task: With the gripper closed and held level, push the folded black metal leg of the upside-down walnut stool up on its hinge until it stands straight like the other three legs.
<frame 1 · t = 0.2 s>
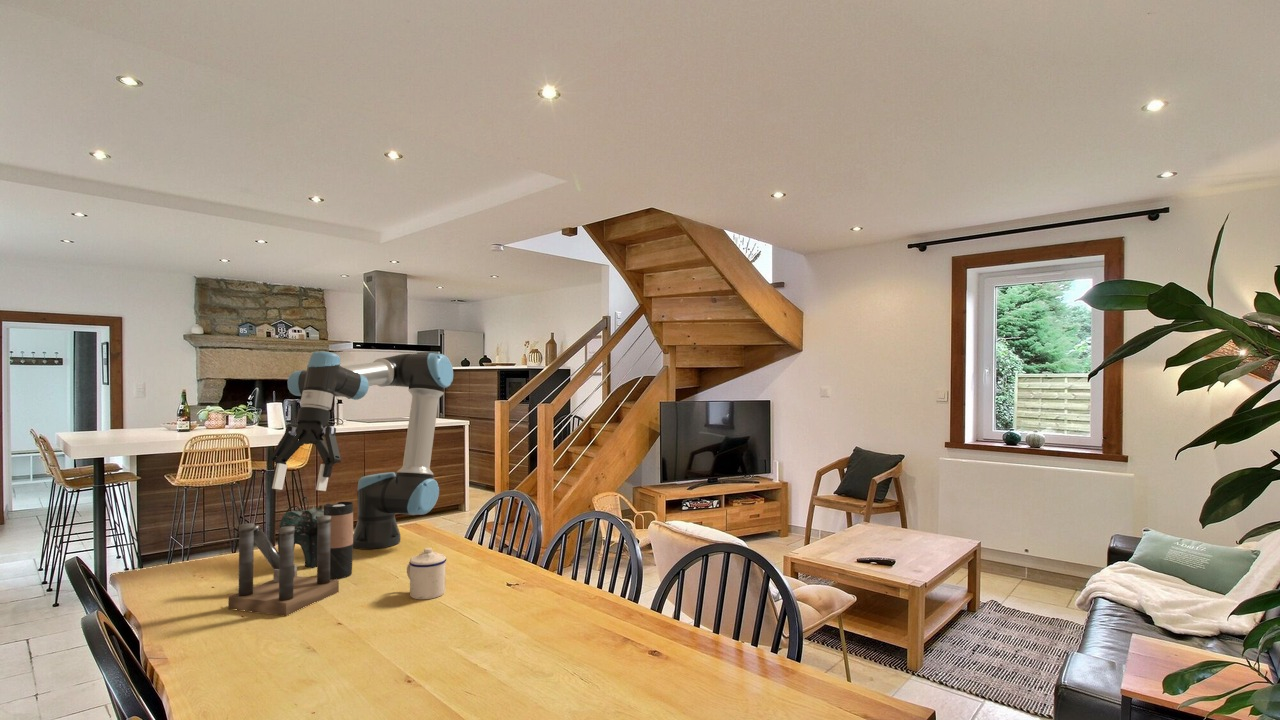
hand: (298, 490, 162), 27 cm above the table, tool tilted 15°, fingers open, 13 cm apart
teacup with lid: (423, 593, 163), on the table
travel mug: (337, 576, 178), on the table
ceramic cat: (299, 563, 190), on the table
stool: (285, 600, 158), on the table
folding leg: (268, 550, 167), point 10 cm above the table, hinge at 45.0°
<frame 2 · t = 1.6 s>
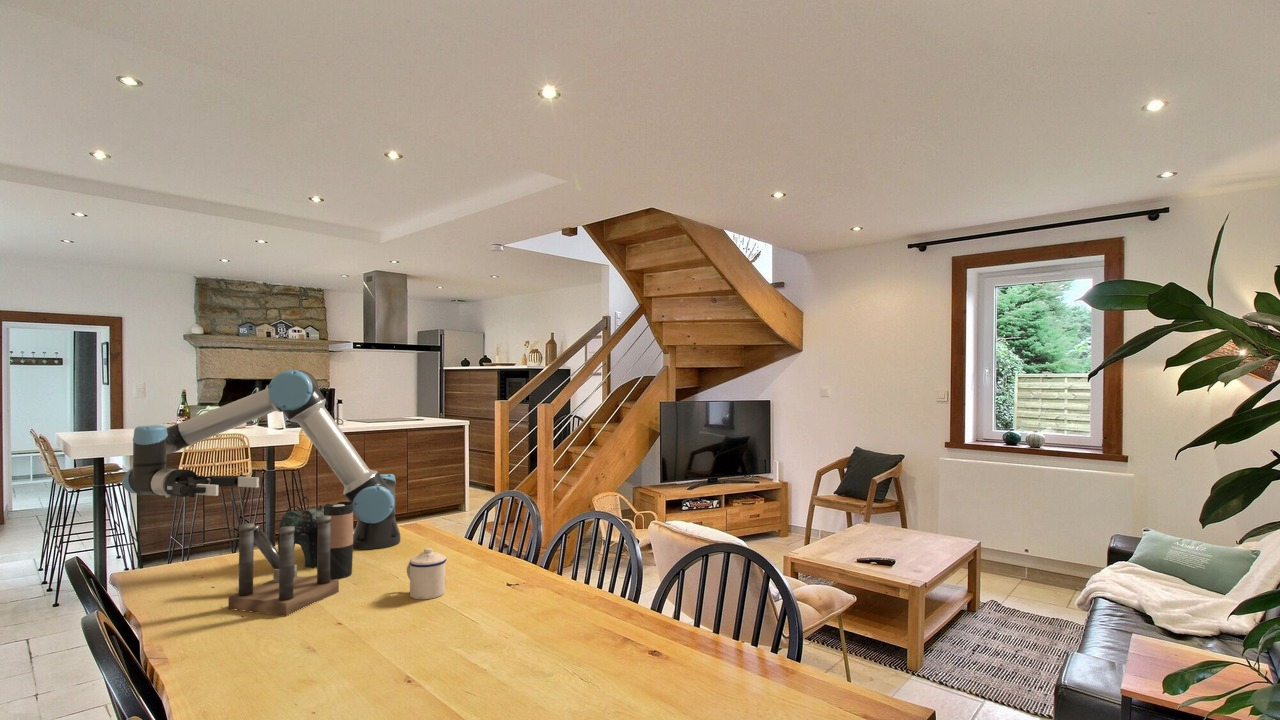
hand: (238, 486, 171), 26 cm above the table, tool horizontal, fingers open, 12 cm apart
nothing on the table moved.
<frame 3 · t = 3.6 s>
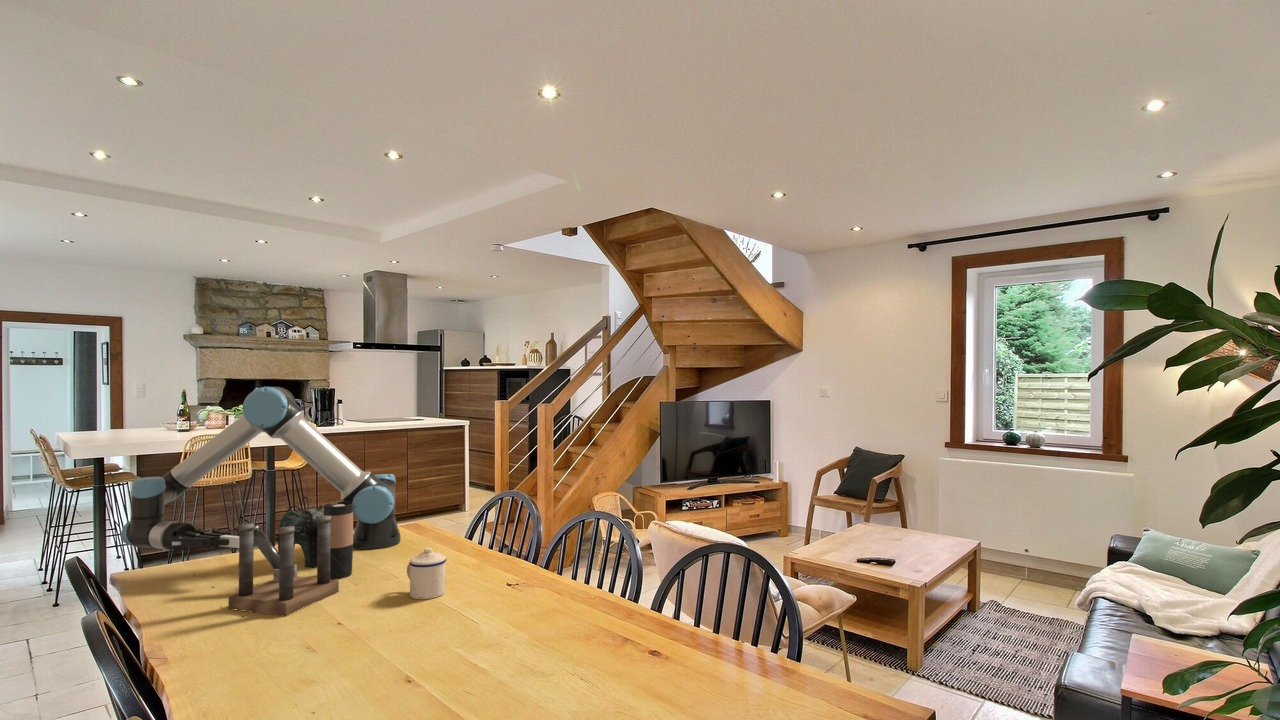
hand: (241, 542, 171), 11 cm above the table, tool horizontal, fingers closed
nothing on the table moved.
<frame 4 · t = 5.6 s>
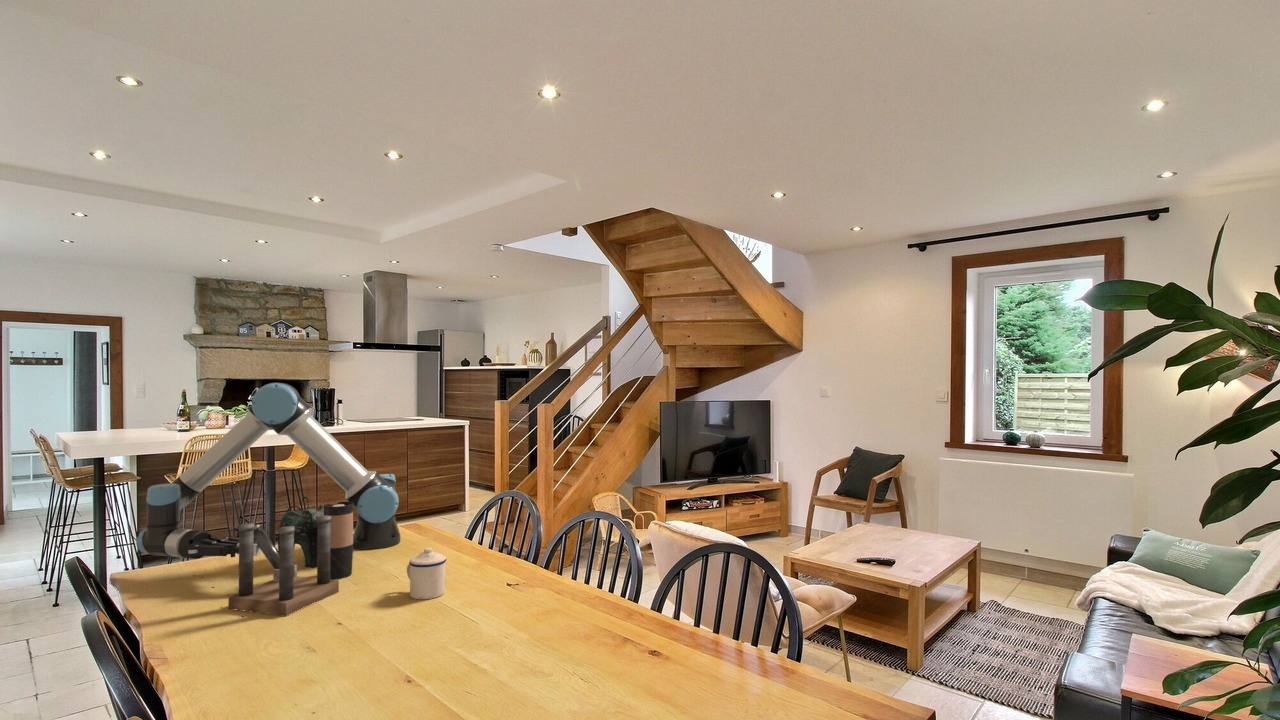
hand: (258, 550, 168), 10 cm above the table, tool horizontal, fingers closed
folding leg: (269, 549, 167), point 10 cm above the table, hinge at 43.2°
everything else where it was.
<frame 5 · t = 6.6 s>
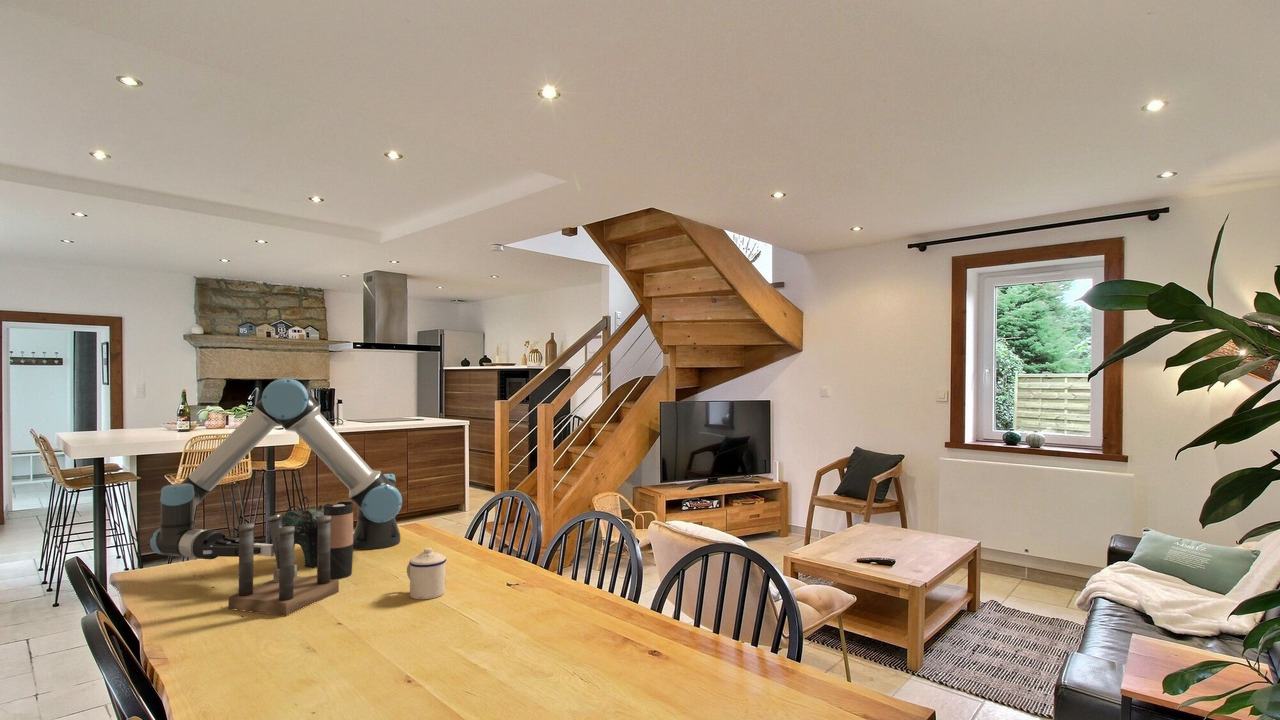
hand: (273, 550, 166), 10 cm above the table, tool horizontal, fingers closed
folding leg: (279, 543, 166), point 12 cm above the table, hinge at 14.8°, touching gripper
everything else where it was.
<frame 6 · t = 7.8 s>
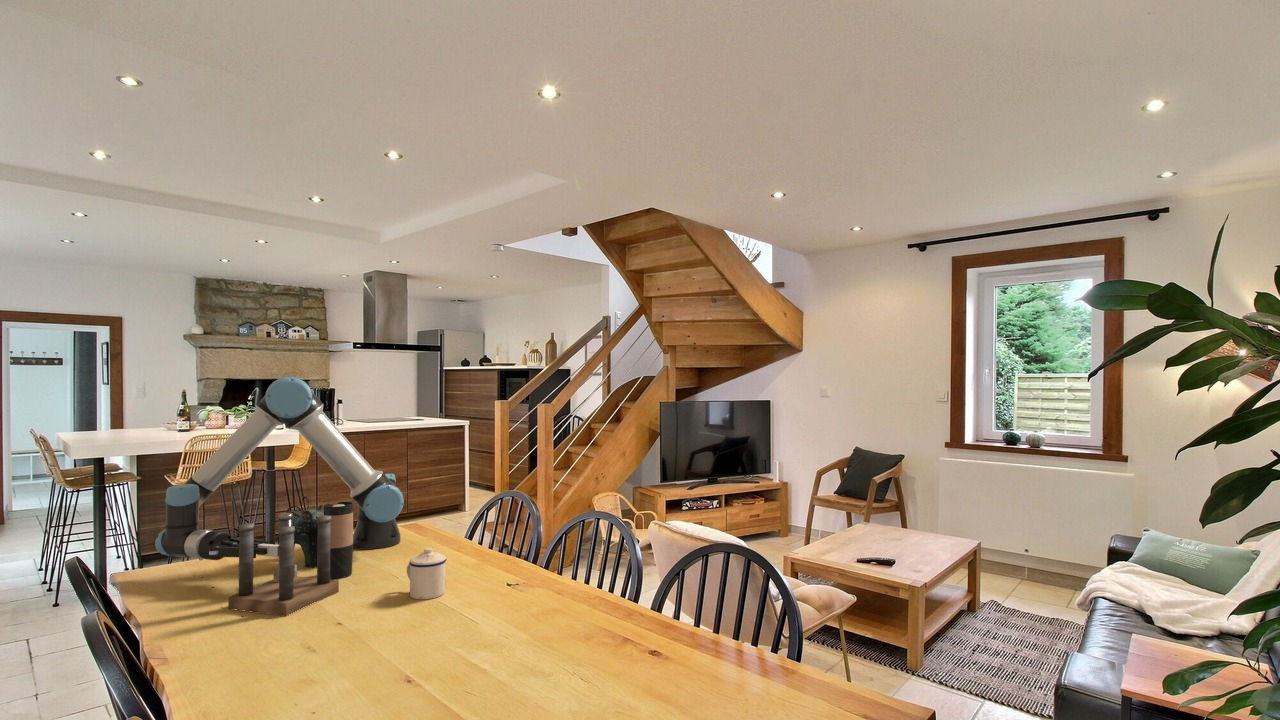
hand: (279, 551, 166), 10 cm above the table, tool horizontal, fingers closed
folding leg: (285, 543, 166), point 12 cm above the table, hinge at 0.1°, touching gripper
everything else where it was.
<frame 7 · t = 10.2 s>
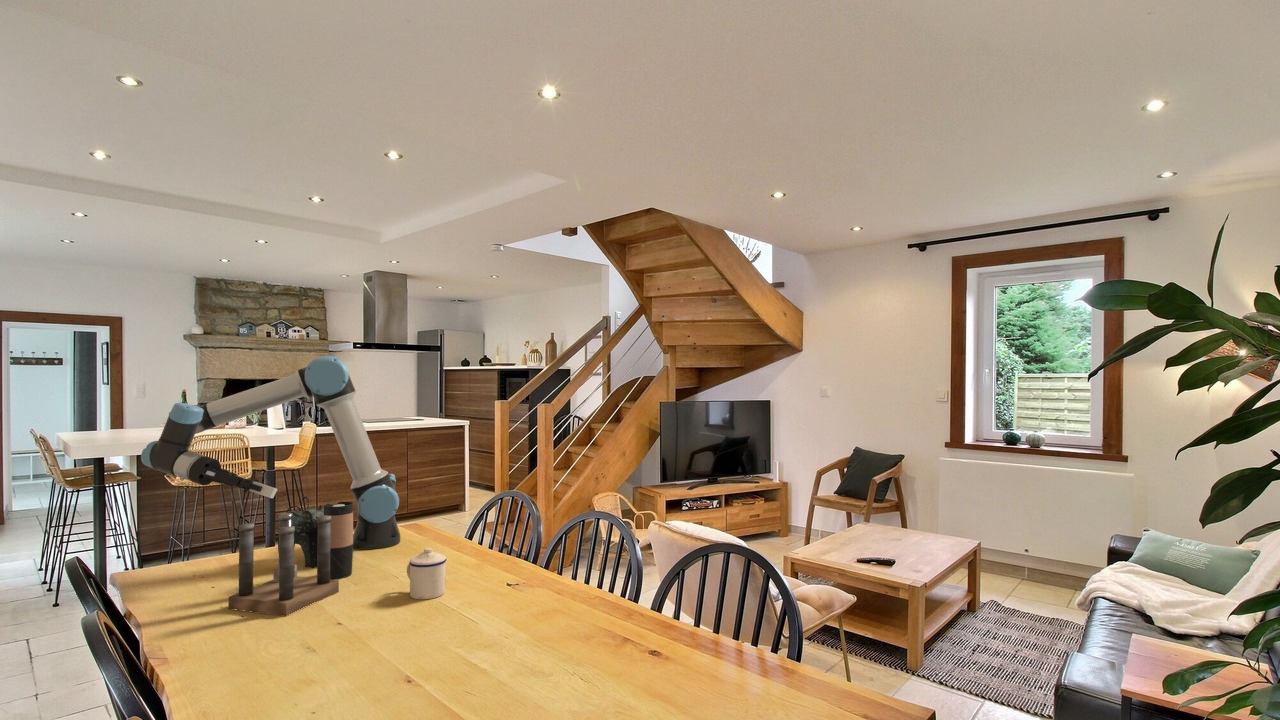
hand: (273, 493, 174), 24 cm above the table, tool tilted 75°, fingers closed
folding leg: (285, 543, 166), point 12 cm above the table, hinge at 0.1°
everything else where it was.
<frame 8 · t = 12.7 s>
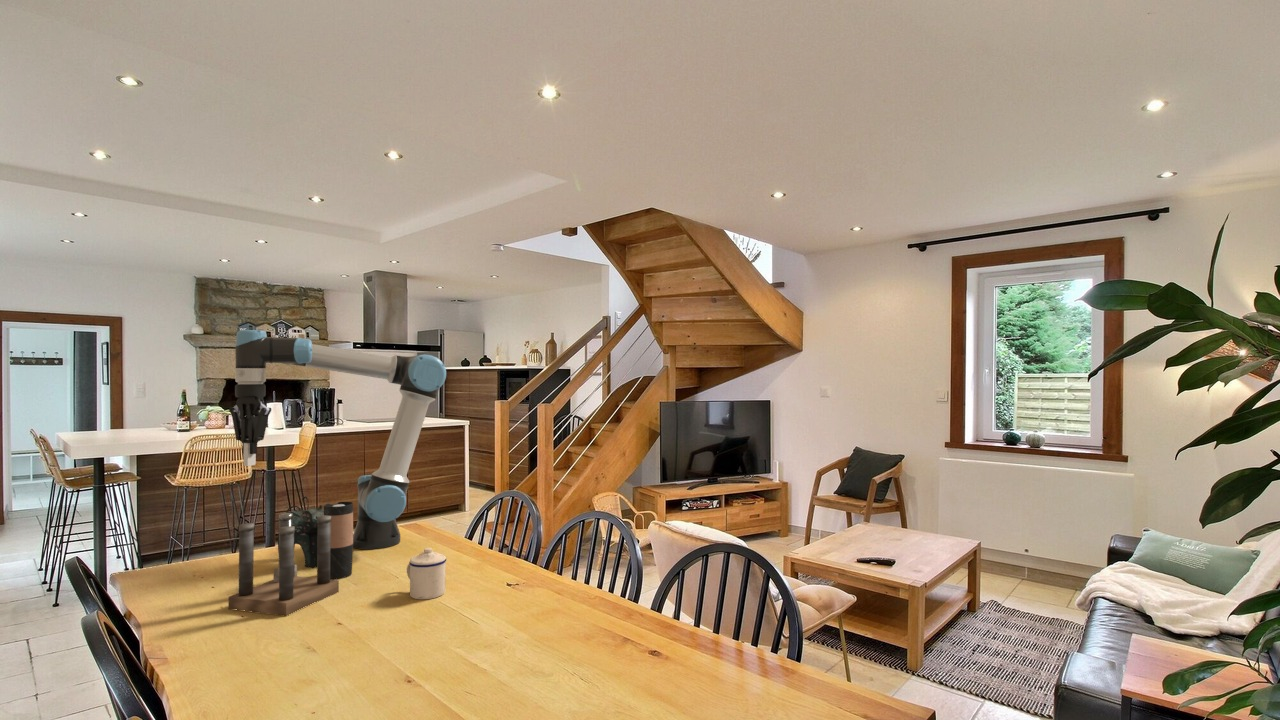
hand: (249, 465, 182), 30 cm above the table, tool pointing down, fingers closed
nothing on the table moved.
at the end: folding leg at +0° (first picture: +45°); travel mug moved 0.2 cm from its start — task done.
